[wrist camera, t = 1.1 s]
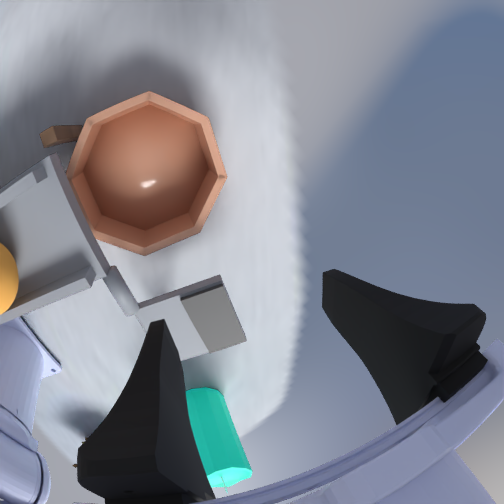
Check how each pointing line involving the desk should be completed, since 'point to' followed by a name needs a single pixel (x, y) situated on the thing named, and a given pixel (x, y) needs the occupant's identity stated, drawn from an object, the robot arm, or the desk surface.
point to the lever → (96, 265)
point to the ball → (7, 279)
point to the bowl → (146, 173)
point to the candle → (216, 438)
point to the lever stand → (60, 134)
